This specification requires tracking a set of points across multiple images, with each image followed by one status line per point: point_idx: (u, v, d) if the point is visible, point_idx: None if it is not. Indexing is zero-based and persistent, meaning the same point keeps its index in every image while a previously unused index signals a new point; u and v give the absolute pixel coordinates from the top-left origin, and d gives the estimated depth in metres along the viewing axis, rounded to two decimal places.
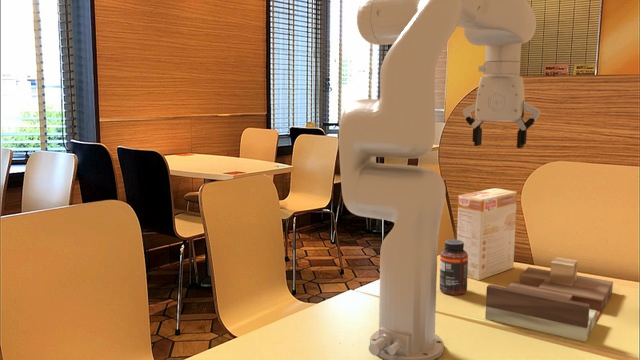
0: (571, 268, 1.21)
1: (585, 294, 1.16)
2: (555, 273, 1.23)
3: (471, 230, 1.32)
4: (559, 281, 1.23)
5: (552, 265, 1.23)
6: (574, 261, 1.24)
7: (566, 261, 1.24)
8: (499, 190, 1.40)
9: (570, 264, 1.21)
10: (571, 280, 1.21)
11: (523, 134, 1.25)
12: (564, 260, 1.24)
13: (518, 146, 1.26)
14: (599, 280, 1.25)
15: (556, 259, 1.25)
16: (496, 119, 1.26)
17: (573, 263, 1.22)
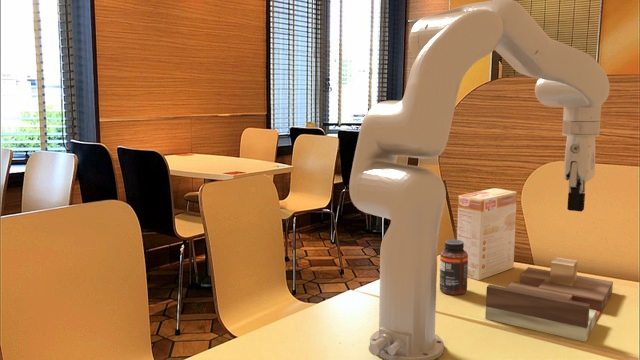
0: (571, 268, 1.21)
1: (585, 294, 1.16)
2: (555, 273, 1.23)
3: (471, 230, 1.32)
4: (559, 281, 1.23)
5: (552, 265, 1.23)
6: (574, 261, 1.24)
7: (566, 261, 1.24)
8: (499, 190, 1.40)
9: (570, 264, 1.21)
10: (571, 280, 1.21)
11: None
12: (564, 260, 1.24)
13: (583, 208, 1.28)
14: (599, 280, 1.25)
15: (556, 259, 1.25)
16: (591, 178, 1.26)
17: (573, 263, 1.22)
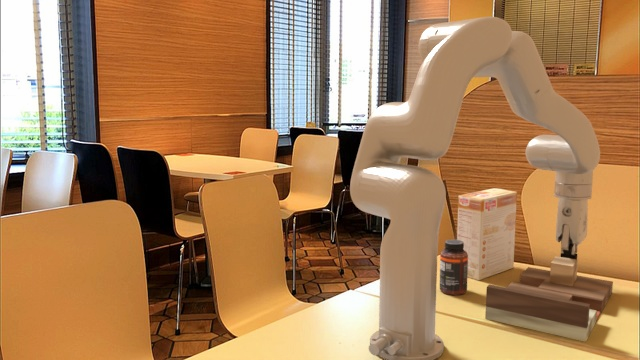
0: (571, 268, 1.20)
1: (585, 294, 1.16)
2: (555, 273, 1.23)
3: (471, 230, 1.32)
4: (559, 281, 1.22)
5: (552, 265, 1.23)
6: (574, 260, 1.23)
7: (566, 260, 1.23)
8: (499, 190, 1.40)
9: (570, 264, 1.21)
10: (571, 280, 1.21)
11: None
12: (564, 260, 1.24)
13: None
14: (599, 280, 1.25)
15: (556, 259, 1.25)
16: (583, 239, 1.25)
17: (573, 263, 1.22)
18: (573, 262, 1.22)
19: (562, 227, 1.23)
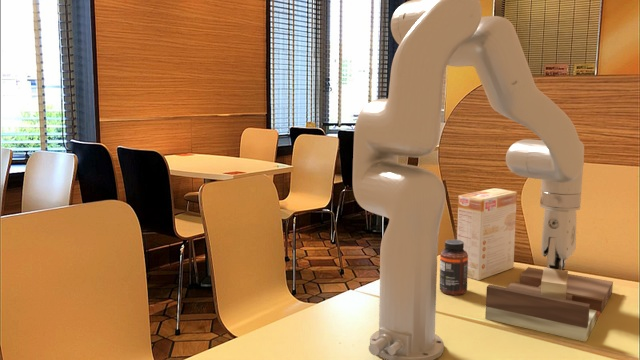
0: (564, 286, 1.10)
1: (585, 294, 1.16)
2: (546, 291, 1.12)
3: (471, 230, 1.32)
4: None
5: (543, 284, 1.12)
6: (565, 273, 1.13)
7: (556, 274, 1.13)
8: (499, 190, 1.40)
9: (562, 281, 1.11)
10: (564, 297, 1.11)
11: None
12: (554, 273, 1.13)
13: None
14: (599, 280, 1.25)
15: (545, 273, 1.14)
16: (571, 253, 1.15)
17: (565, 278, 1.11)
18: (564, 276, 1.12)
19: (548, 240, 1.13)
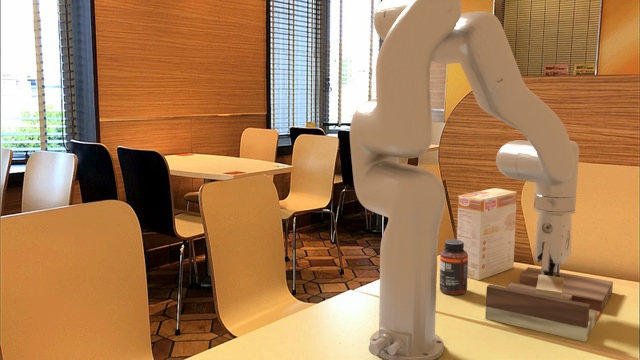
0: (559, 294, 1.06)
1: (585, 294, 1.16)
2: None
3: (471, 230, 1.32)
4: None
5: (537, 291, 1.08)
6: (560, 280, 1.08)
7: (551, 282, 1.08)
8: (499, 190, 1.40)
9: (558, 289, 1.06)
10: None
11: None
12: (549, 280, 1.09)
13: None
14: (599, 280, 1.25)
15: (540, 280, 1.09)
16: (566, 259, 1.11)
17: (560, 286, 1.07)
18: (560, 284, 1.08)
19: (542, 245, 1.08)
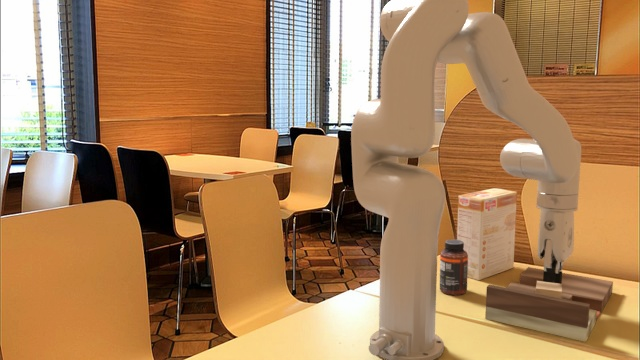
0: (559, 293, 1.05)
1: (585, 294, 1.16)
2: None
3: (471, 230, 1.32)
4: None
5: (537, 291, 1.07)
6: (559, 285, 1.09)
7: (550, 285, 1.08)
8: (499, 190, 1.40)
9: (557, 289, 1.06)
10: None
11: None
12: (548, 284, 1.09)
13: None
14: (599, 280, 1.25)
15: (539, 283, 1.09)
16: (568, 256, 1.12)
17: (559, 288, 1.07)
18: (559, 287, 1.08)
19: (544, 242, 1.10)
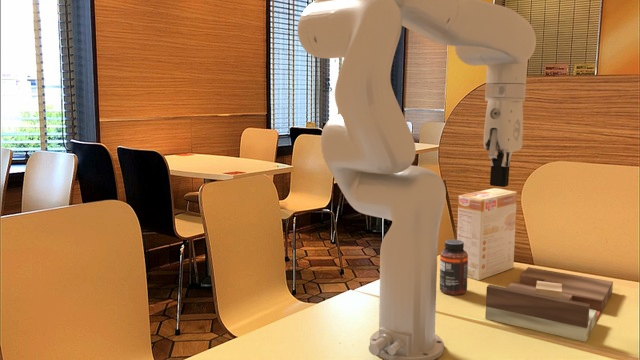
0: (559, 293, 1.05)
1: (585, 294, 1.16)
2: None
3: (471, 230, 1.32)
4: None
5: (537, 291, 1.07)
6: (559, 285, 1.09)
7: (550, 285, 1.08)
8: (499, 190, 1.40)
9: (557, 289, 1.06)
10: None
11: None
12: (548, 284, 1.09)
13: (507, 184, 1.14)
14: (599, 280, 1.25)
15: (539, 283, 1.09)
16: (515, 149, 1.12)
17: (559, 288, 1.07)
18: (559, 287, 1.08)
19: (490, 132, 1.10)
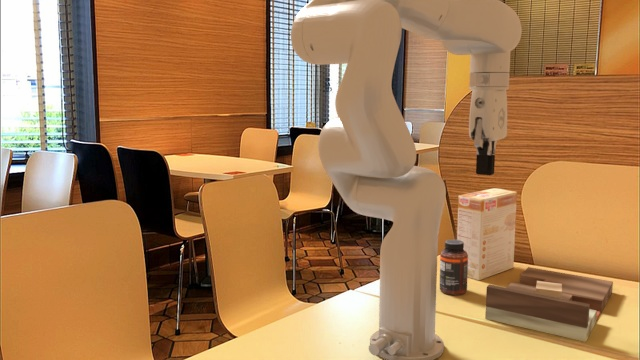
0: (559, 293, 1.05)
1: (585, 294, 1.16)
2: None
3: (471, 230, 1.32)
4: None
5: (537, 291, 1.07)
6: (559, 285, 1.09)
7: (550, 285, 1.08)
8: (499, 190, 1.40)
9: (557, 289, 1.06)
10: None
11: None
12: (548, 284, 1.09)
13: (493, 172, 1.14)
14: (599, 280, 1.25)
15: (539, 283, 1.09)
16: (500, 137, 1.12)
17: (559, 288, 1.07)
18: (559, 287, 1.08)
19: (475, 121, 1.10)
